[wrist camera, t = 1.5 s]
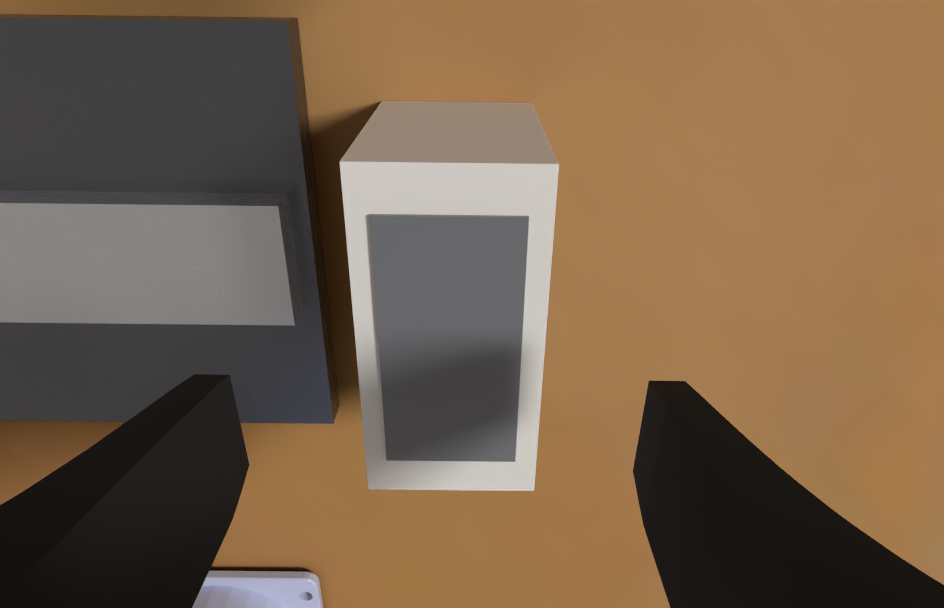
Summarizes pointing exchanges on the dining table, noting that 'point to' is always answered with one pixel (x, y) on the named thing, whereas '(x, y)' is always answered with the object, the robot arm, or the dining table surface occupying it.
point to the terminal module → (450, 290)
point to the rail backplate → (158, 218)
